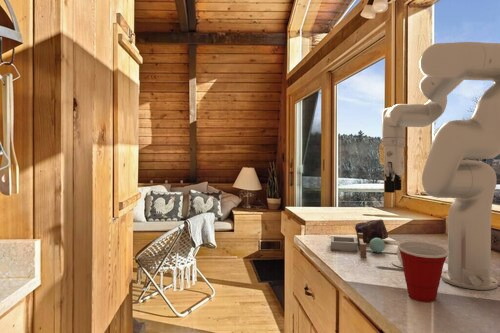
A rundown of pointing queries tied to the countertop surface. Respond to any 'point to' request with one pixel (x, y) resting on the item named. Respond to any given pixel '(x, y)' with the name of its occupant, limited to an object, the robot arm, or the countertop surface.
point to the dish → (344, 243)
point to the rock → (372, 230)
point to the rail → (361, 245)
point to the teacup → (399, 261)
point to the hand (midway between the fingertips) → (393, 191)
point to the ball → (377, 245)
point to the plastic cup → (422, 268)
